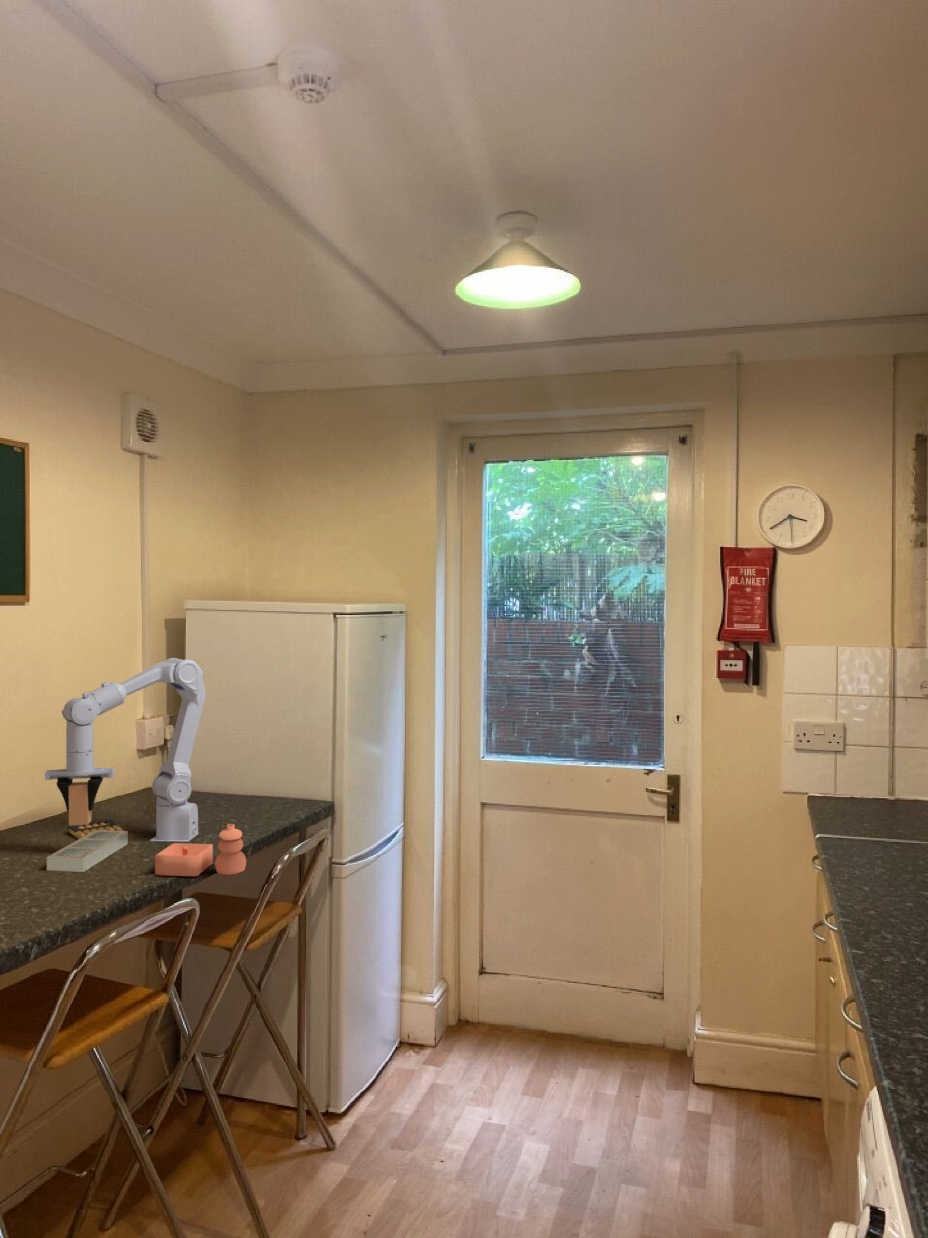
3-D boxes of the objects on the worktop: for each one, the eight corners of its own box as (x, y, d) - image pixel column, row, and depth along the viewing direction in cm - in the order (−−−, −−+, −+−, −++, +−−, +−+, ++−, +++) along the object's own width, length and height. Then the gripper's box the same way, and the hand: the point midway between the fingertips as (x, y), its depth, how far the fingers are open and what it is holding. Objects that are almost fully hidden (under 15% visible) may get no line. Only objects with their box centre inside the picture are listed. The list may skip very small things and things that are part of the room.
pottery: (155, 875, 191) (155, 829, 191) (173, 862, 200) (173, 818, 200) (238, 877, 189) (238, 831, 189) (252, 864, 199) (252, 820, 199)
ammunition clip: (67, 833, 222) (84, 846, 213) (67, 826, 222) (84, 838, 213) (111, 826, 229) (129, 838, 220) (111, 819, 229) (129, 830, 220)
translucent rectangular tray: (94, 843, 214) (94, 830, 214) (127, 843, 214) (127, 831, 214) (46, 871, 192) (46, 857, 192) (83, 872, 192) (83, 858, 192)
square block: (91, 820, 208) (91, 781, 208) (87, 824, 204) (87, 785, 204) (73, 821, 208) (72, 782, 207) (68, 825, 204) (68, 786, 203)
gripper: (116, 747, 211) (116, 804, 211) (50, 748, 208) (50, 807, 208) (110, 752, 204) (111, 811, 204) (42, 754, 201) (42, 814, 202)
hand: (80, 810), depth 206 cm, fingers closed on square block, 4 cm apart
